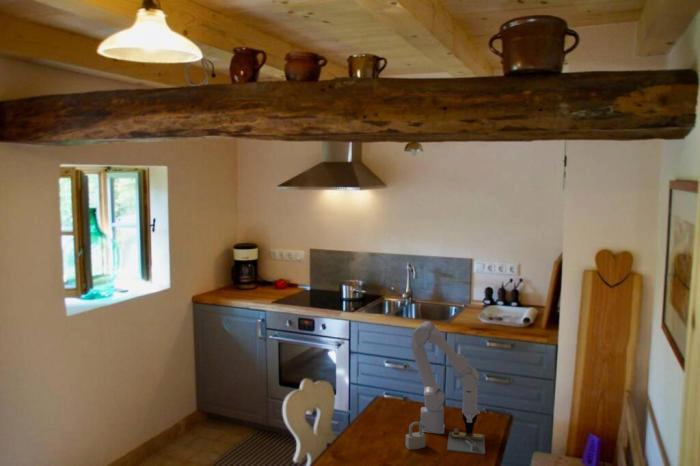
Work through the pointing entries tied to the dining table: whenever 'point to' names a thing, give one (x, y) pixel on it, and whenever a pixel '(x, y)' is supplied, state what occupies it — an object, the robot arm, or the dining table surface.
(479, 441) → the slate board
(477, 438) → the brass link
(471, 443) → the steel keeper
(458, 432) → the pin cap
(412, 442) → the grey padlock
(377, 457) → the dining table surface
